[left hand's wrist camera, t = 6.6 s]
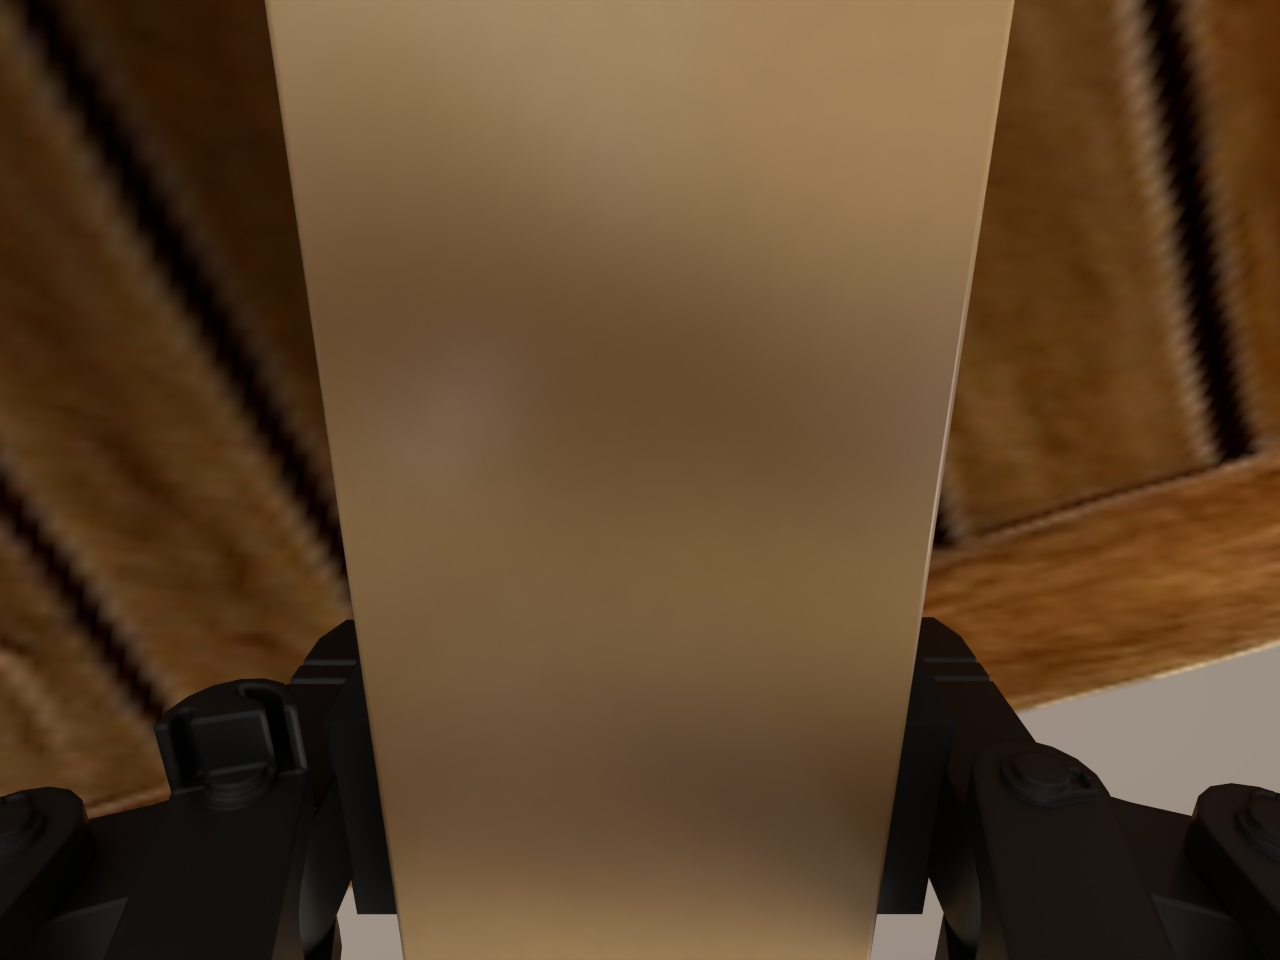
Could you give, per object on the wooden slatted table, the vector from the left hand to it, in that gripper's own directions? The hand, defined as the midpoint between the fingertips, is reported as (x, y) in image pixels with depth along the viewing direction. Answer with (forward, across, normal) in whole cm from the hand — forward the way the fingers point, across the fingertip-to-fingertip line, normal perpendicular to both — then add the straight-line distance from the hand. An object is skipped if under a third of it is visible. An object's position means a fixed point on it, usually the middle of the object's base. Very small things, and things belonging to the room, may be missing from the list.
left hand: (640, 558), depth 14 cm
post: (+1, 0, -22) cm, 22 cm away
